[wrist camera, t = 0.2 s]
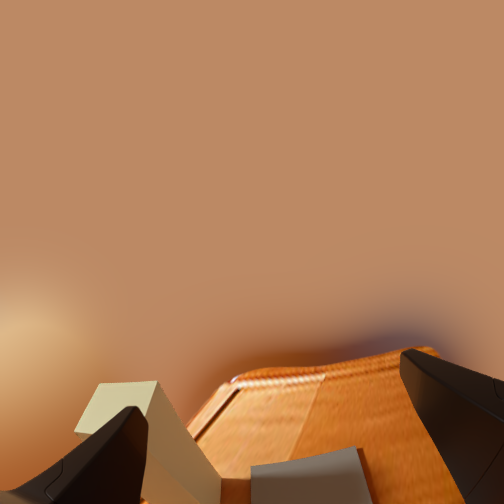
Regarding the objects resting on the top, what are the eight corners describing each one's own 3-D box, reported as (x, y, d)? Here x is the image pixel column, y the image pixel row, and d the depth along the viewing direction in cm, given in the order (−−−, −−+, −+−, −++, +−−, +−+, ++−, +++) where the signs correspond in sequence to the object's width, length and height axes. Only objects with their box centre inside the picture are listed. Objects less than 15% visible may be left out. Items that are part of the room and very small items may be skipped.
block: (219, 519, 15) (137, 437, 11) (168, 516, 16) (74, 431, 12) (221, 478, 20) (157, 380, 16) (175, 478, 20) (99, 383, 16)
